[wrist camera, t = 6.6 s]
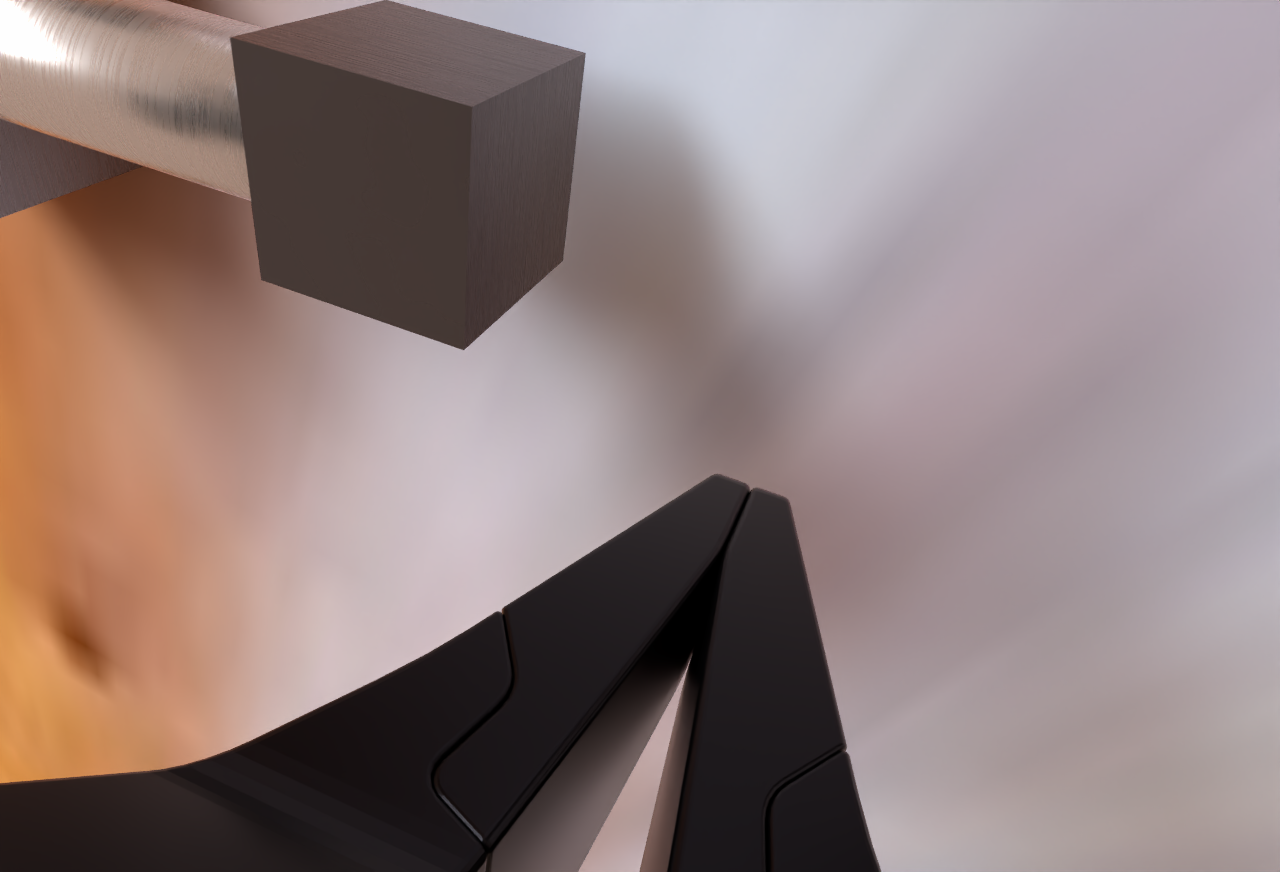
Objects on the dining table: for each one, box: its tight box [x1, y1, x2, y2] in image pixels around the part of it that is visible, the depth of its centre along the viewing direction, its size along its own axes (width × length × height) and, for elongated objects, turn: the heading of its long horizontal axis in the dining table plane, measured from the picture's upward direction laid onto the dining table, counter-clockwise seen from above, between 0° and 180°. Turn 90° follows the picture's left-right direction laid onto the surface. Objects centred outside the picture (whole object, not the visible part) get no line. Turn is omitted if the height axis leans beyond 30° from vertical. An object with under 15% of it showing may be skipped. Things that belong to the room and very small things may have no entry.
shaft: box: [0, 0, 586, 350], centre depth 17 cm, size 22×4×4 cm, turn 80°
